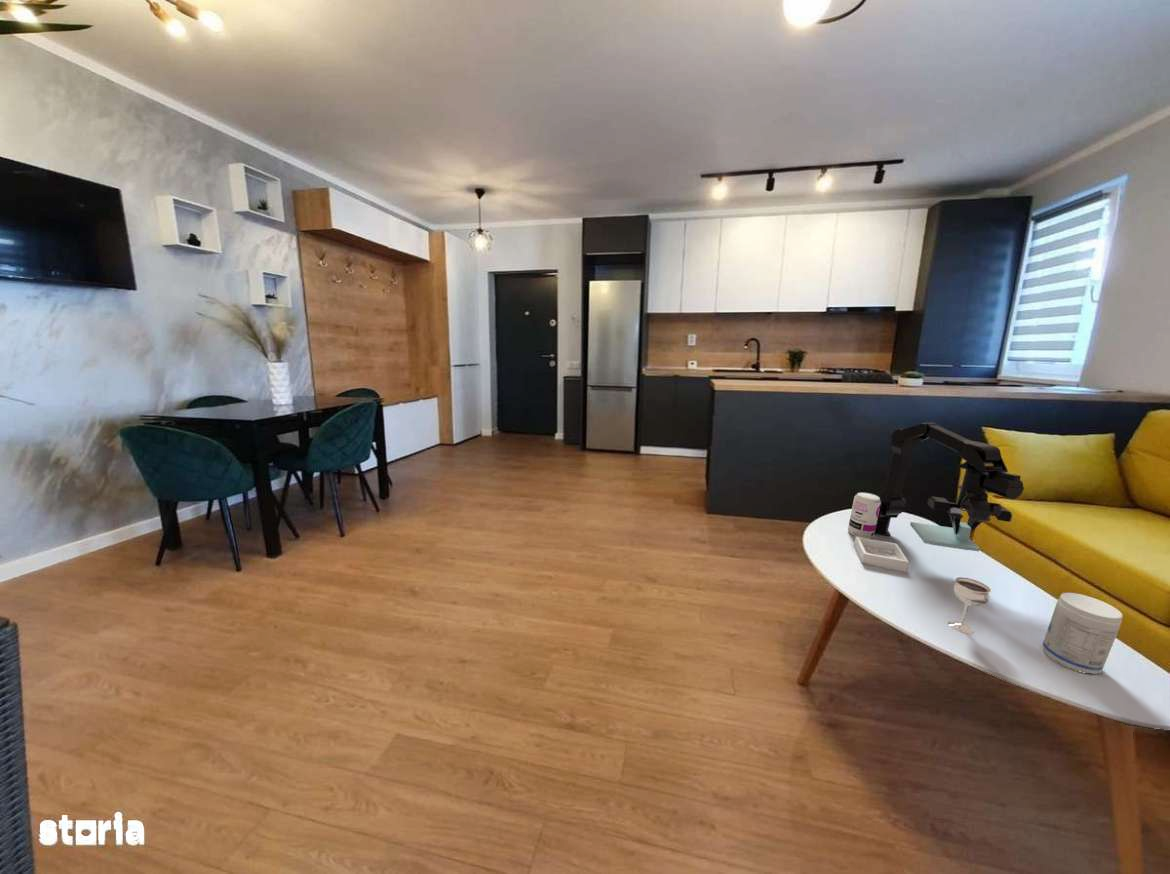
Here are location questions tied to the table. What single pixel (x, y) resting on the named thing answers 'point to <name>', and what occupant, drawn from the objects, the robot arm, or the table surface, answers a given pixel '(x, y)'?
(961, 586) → the wineglass
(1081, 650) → the supplement tub
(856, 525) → the supplement can
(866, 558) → the white shallow square tray
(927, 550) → the table surface
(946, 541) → the lid
